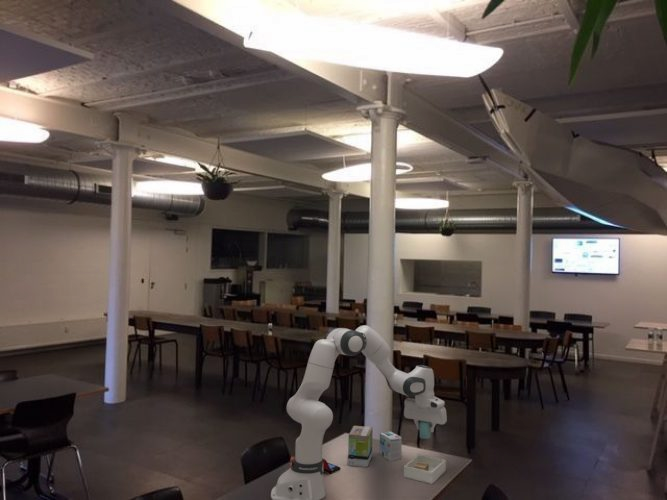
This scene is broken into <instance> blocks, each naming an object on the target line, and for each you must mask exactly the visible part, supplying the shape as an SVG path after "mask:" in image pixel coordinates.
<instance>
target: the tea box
mask: <svg viewBox="0 0 667 500" xmlns="http://www.w3.org/2000/svg"><path fill="white" fill-rule="evenodd" d="M373 436H374V435H373V427H372V426H362V425H353V426H352V428H351V430H350V432H349V433H348V443H347V445H348V447H347V448H348V449H347V450H348V451H347V452H348V454H347V465H348V466H352V467H360V468H361V467H362V468H368V467H369V465H370V462H371V459H372V457H373Z"/></svg>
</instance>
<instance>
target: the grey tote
mask: <svg viewBox="0 0 667 500" xmlns="http://www.w3.org/2000/svg"><path fill="white" fill-rule="evenodd" d="M418 462H422V463H426V464H429V471H425V470H421V469H416V468H414V465H415V464H416V463H418ZM446 465H447V460H446V459H442V458H437V457H432V456H427V455H423V454H418V455H416V456H415V457H413V459H411V460H410V461H408V462H407V463H406V464H405V465H404V466H403V478H404V479H408V480H412V481H416V482H421V483H424V482H425V483H426V484H428V483H429V485H433V484H434V483H435V482H436V481H437V480H438V479H439V478H441V477H442V475H443V474H444V473H446V470H447V466H446ZM425 483H424V484H425Z"/></svg>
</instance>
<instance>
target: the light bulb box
mask: <svg viewBox="0 0 667 500" xmlns="http://www.w3.org/2000/svg"><path fill="white" fill-rule="evenodd" d="M402 439H403V438H402V436H400V435H398V434H397V433H394V431H393V432H392V431H385V432H380V433H379V455H380V456H382V457H383V458H385V459H386V460H388V461H389V462H394V461H401V460H402V457H403V456H402V453H403V449H402V447H403V445H402V443H403V440H402Z"/></svg>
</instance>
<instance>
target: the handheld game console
mask: <svg viewBox="0 0 667 500" xmlns="http://www.w3.org/2000/svg"><path fill="white" fill-rule="evenodd" d="M339 471H341V466H338V465H337V464H336V465H335V464H333V463H330V462H328V461H327V460H326V459H325V458H323V473H327V474H329V475H331V474H333V473H336V472H339Z"/></svg>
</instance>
